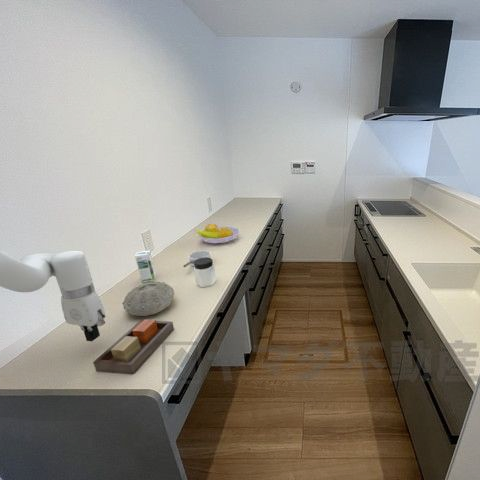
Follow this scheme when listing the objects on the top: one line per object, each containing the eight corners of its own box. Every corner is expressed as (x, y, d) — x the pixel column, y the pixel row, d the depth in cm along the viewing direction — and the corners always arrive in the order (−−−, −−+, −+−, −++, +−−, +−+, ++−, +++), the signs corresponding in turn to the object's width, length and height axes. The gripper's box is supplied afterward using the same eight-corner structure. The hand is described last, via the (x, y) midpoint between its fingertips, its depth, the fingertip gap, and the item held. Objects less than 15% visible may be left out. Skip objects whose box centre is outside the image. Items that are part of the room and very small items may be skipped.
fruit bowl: (236, 232, 200) (235, 217, 196) (242, 244, 177) (240, 228, 173) (196, 236, 190) (194, 221, 186) (196, 250, 166) (194, 233, 162)
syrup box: (141, 283, 127) (134, 256, 122) (143, 277, 132) (136, 251, 127) (155, 281, 130) (148, 254, 124) (156, 275, 135) (150, 249, 130)
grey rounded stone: (115, 316, 103) (108, 294, 100) (153, 293, 119) (149, 273, 116) (150, 325, 98) (144, 302, 95) (185, 299, 114) (181, 279, 111)
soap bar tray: (96, 371, 79) (90, 355, 77) (143, 327, 97) (139, 313, 95) (133, 374, 78) (128, 358, 76) (174, 329, 97) (171, 315, 94)
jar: (219, 282, 129) (216, 260, 125) (204, 289, 123) (200, 266, 119) (208, 277, 134) (205, 255, 130) (193, 283, 128) (189, 261, 123)
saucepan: (175, 274, 136) (173, 265, 134) (197, 258, 154) (195, 250, 152) (196, 276, 135) (194, 266, 133) (215, 260, 153) (214, 251, 151)
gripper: (43, 294, 78) (61, 344, 84) (89, 298, 77) (104, 348, 83) (68, 282, 85) (83, 329, 91) (111, 286, 84) (123, 333, 90)
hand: (93, 338), depth 87 cm, fingers closed
